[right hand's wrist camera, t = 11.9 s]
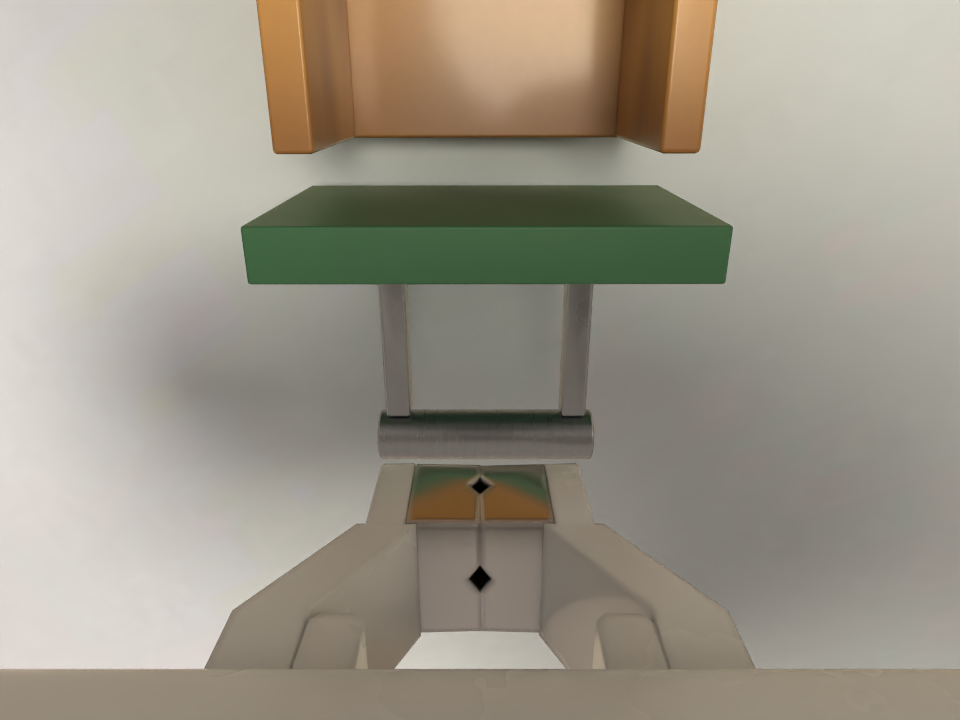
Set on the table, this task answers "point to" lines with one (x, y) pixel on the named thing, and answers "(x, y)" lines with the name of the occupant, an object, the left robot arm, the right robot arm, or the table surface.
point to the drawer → (486, 209)
